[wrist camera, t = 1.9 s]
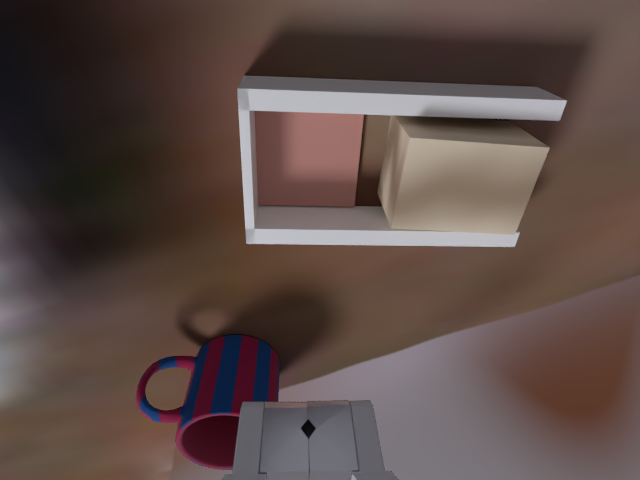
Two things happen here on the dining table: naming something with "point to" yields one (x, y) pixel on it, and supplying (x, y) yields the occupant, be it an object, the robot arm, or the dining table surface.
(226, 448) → the mug
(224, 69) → the dining table surface
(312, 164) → the white u-shaped frame
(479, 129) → the block
